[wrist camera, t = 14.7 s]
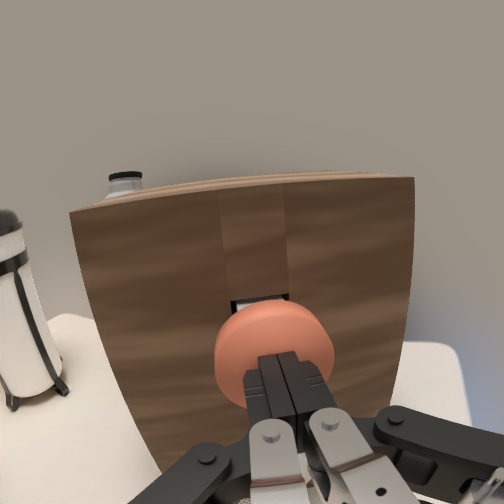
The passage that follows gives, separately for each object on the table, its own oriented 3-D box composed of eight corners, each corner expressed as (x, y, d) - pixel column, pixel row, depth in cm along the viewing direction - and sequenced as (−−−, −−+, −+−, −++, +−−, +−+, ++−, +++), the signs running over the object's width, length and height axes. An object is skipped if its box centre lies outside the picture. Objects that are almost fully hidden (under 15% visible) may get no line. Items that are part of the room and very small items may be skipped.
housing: (369, 470, 22) (414, 176, 15) (179, 501, 20) (69, 212, 13) (327, 387, 35) (327, 170, 28) (185, 407, 34) (136, 190, 26)
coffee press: (96, 366, 42) (48, 176, 34) (37, 427, 27) (-48, 196, 19) (35, 349, 46) (-7, 195, 38) (-17, 392, 31) (-78, 216, 23)
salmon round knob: (331, 399, 13) (336, 306, 11) (224, 417, 12) (205, 325, 11) (277, 291, 26) (273, 233, 24) (218, 298, 25) (210, 240, 24)
